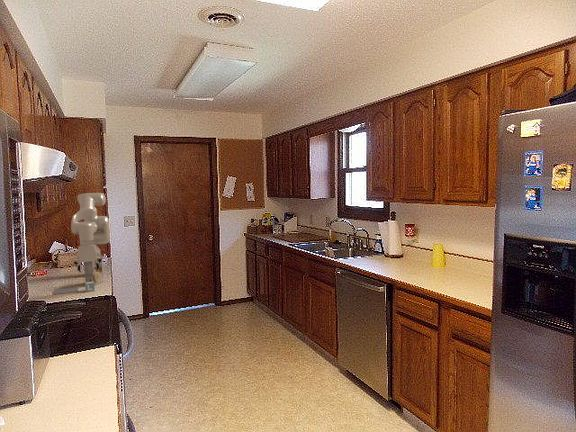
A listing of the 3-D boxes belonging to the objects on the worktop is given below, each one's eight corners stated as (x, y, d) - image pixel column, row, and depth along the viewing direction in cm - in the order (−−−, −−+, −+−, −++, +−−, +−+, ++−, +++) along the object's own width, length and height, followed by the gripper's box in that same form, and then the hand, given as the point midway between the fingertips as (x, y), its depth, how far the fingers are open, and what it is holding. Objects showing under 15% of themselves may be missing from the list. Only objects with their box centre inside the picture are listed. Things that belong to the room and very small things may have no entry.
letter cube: (85, 290, 239) (84, 282, 239) (94, 289, 242) (93, 281, 241) (85, 292, 235) (85, 284, 234) (94, 291, 237) (94, 282, 237)
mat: (54, 289, 242) (54, 289, 242) (78, 286, 248) (78, 286, 248) (53, 294, 231) (53, 294, 231) (78, 291, 237) (78, 291, 237)
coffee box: (94, 281, 261) (93, 258, 259) (103, 281, 259) (101, 258, 258) (85, 285, 252) (83, 260, 250) (93, 285, 251) (92, 261, 249)
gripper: (102, 241, 243) (103, 267, 245) (70, 243, 235) (72, 271, 237) (102, 242, 237) (104, 270, 238) (70, 245, 228) (72, 273, 230)
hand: (88, 270), depth 237 cm, fingers open, 9 cm apart
